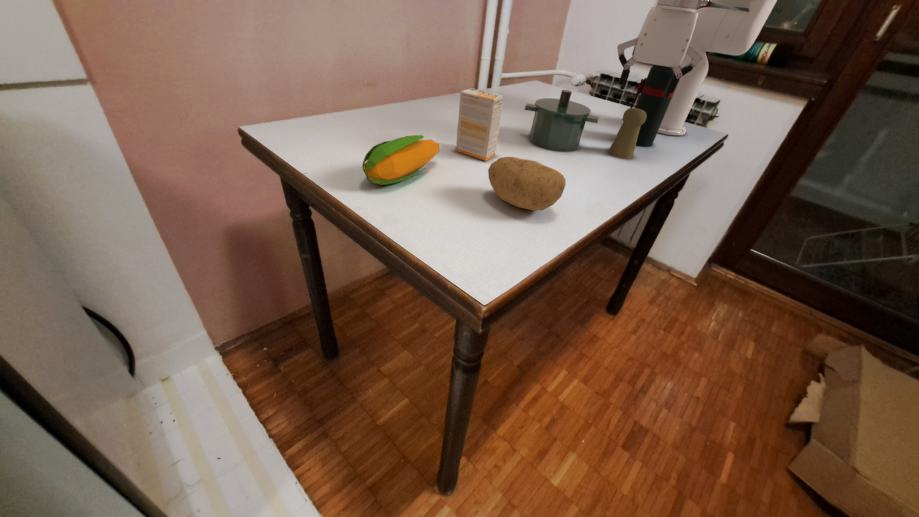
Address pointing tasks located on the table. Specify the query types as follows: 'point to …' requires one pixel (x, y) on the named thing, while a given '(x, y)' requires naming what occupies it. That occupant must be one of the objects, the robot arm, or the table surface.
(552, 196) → the potato
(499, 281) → the table surface
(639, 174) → the table surface
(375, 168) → the corn
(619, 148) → the cork
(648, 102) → the wine bottle
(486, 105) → the supplement box
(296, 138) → the table surface
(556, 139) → the pot
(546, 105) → the pot lid
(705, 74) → the robot arm
